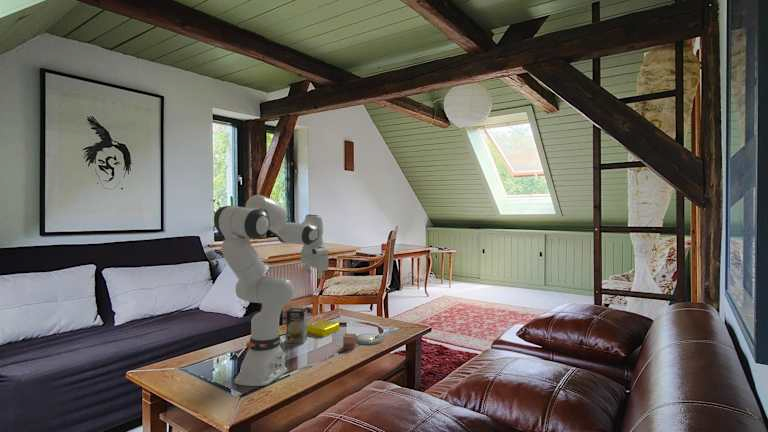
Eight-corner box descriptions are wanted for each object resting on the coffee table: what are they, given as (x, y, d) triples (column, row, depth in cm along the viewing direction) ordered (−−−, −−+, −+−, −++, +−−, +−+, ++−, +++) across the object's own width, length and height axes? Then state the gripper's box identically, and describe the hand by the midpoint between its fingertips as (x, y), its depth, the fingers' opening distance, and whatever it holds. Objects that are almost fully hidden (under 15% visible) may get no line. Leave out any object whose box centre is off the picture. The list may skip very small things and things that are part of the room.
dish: (380, 345, 204) (380, 343, 204) (352, 343, 206) (352, 341, 206) (384, 336, 218) (384, 334, 218) (358, 334, 220) (358, 332, 220)
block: (353, 349, 198) (353, 337, 198) (343, 349, 199) (343, 336, 199) (355, 346, 203) (355, 333, 203) (345, 345, 204) (345, 333, 204)
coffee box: (285, 343, 207) (285, 311, 206) (289, 339, 213) (289, 307, 213) (303, 344, 206) (303, 311, 205) (307, 339, 212) (307, 308, 212)
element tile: (323, 338, 216) (323, 328, 216) (301, 333, 224) (301, 324, 223) (340, 330, 229) (340, 321, 229) (319, 326, 237) (319, 317, 236)
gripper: (297, 244, 207) (297, 271, 209) (319, 252, 192) (319, 281, 194) (308, 243, 211) (308, 269, 213) (330, 250, 196) (330, 279, 198)
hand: (314, 275), depth 203 cm, fingers open, 8 cm apart
